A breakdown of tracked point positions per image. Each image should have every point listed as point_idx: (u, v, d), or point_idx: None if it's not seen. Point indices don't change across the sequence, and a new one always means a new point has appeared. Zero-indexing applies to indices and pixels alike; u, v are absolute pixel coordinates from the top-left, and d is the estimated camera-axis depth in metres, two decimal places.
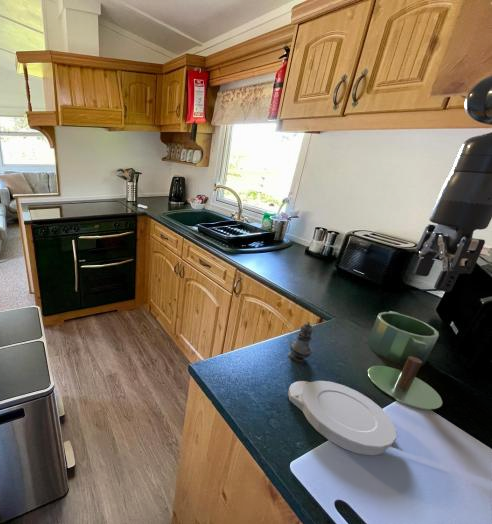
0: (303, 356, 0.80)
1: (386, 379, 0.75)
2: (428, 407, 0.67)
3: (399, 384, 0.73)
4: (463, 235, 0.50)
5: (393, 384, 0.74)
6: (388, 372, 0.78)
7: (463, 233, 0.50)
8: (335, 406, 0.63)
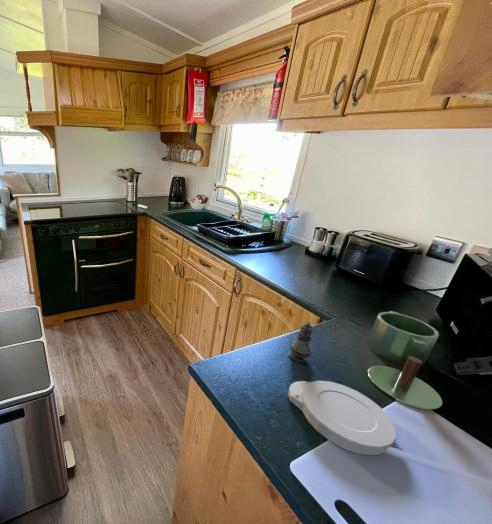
0: (303, 356, 0.80)
1: (386, 379, 0.75)
2: (428, 407, 0.67)
3: (399, 384, 0.73)
4: None
5: (393, 384, 0.74)
6: (388, 372, 0.78)
7: None
8: (335, 406, 0.63)
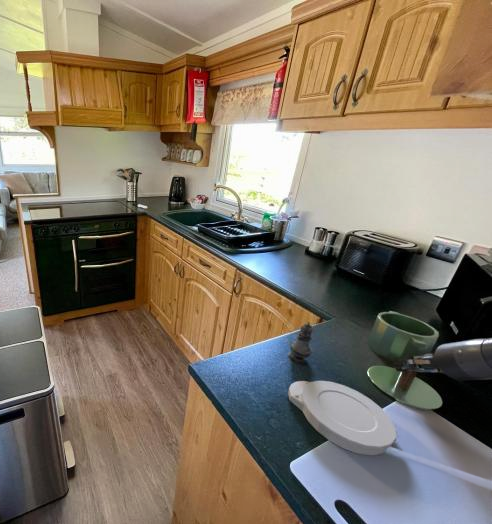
0: (303, 356, 0.80)
1: (386, 379, 0.75)
2: (428, 407, 0.67)
3: (399, 384, 0.73)
4: (426, 360, 0.64)
5: (393, 384, 0.74)
6: (388, 372, 0.78)
7: (430, 359, 0.64)
8: (335, 406, 0.63)
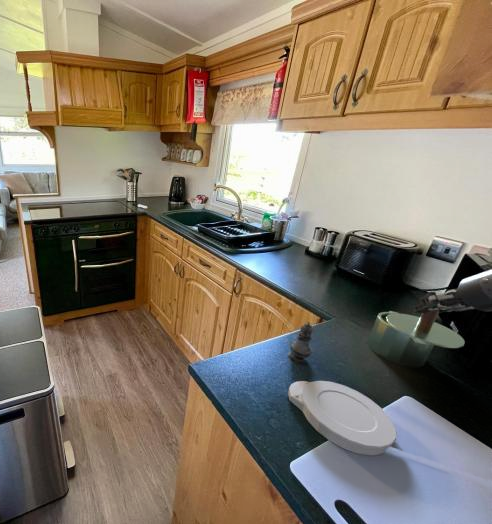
0: (303, 356, 0.80)
1: (405, 323, 0.74)
2: (451, 345, 0.66)
3: (419, 327, 0.72)
4: (449, 295, 0.63)
5: (413, 327, 0.72)
6: (407, 318, 0.77)
7: (453, 293, 0.62)
8: (335, 406, 0.63)
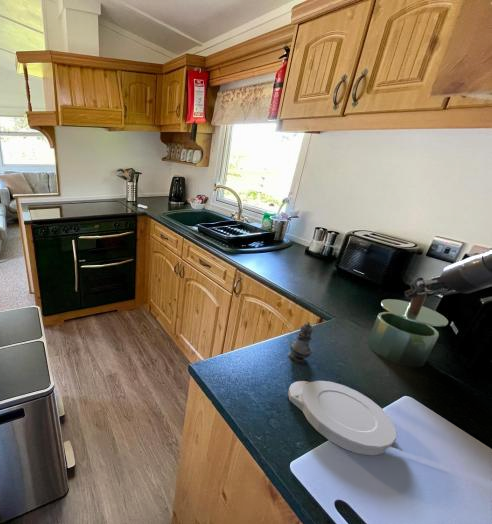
0: (303, 356, 0.80)
1: (398, 307, 0.85)
2: (436, 324, 0.76)
3: (409, 309, 0.83)
4: (434, 280, 0.74)
5: (404, 310, 0.83)
6: (399, 303, 0.88)
7: (438, 278, 0.73)
8: (335, 406, 0.63)
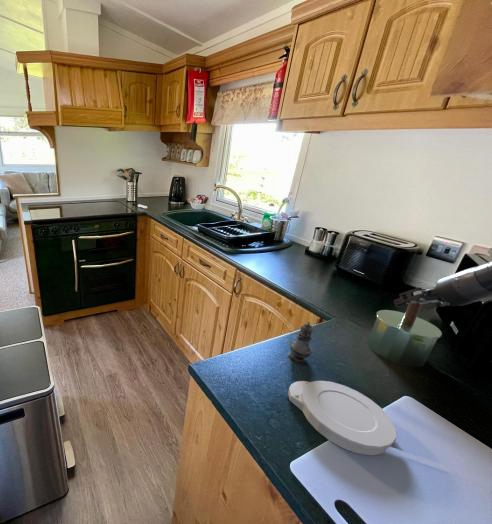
0: (303, 356, 0.80)
1: (393, 318, 0.86)
2: (429, 336, 0.78)
3: (404, 321, 0.84)
4: (431, 292, 0.75)
5: (399, 321, 0.84)
6: (394, 314, 0.89)
7: (432, 291, 0.74)
8: (335, 406, 0.63)
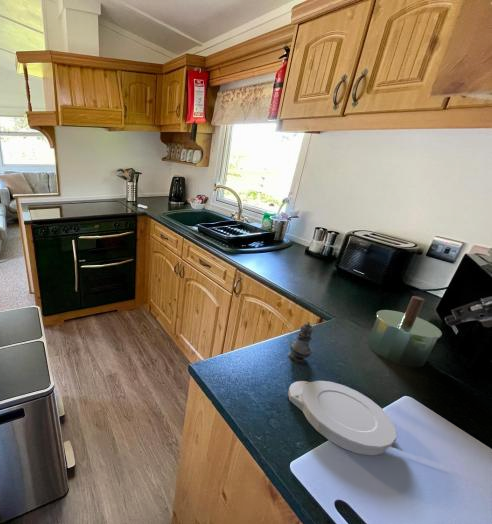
0: (303, 356, 0.80)
1: (393, 318, 0.86)
2: (429, 336, 0.78)
3: (404, 321, 0.84)
4: None
5: (399, 321, 0.84)
6: (394, 314, 0.89)
7: None
8: (335, 406, 0.63)
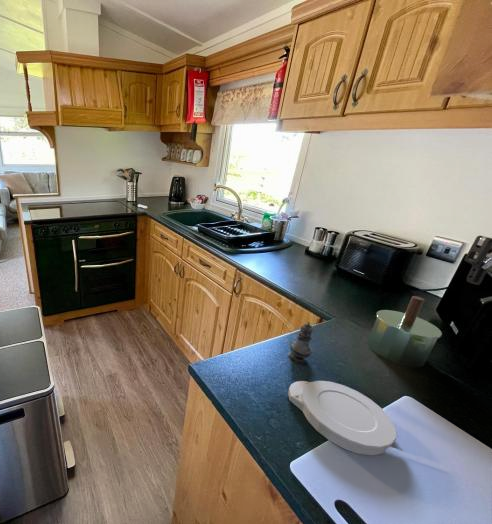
0: (303, 356, 0.80)
1: (393, 318, 0.86)
2: (429, 336, 0.78)
3: (404, 321, 0.84)
4: None
5: (399, 321, 0.84)
6: (394, 314, 0.89)
7: None
8: (335, 406, 0.63)
